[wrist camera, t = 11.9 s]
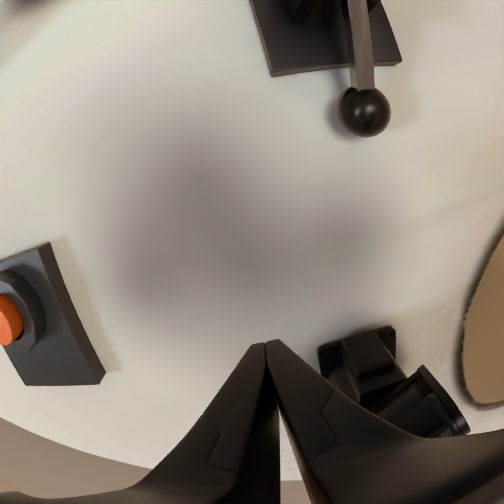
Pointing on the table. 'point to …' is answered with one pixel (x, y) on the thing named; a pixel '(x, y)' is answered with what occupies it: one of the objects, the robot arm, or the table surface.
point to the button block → (46, 324)
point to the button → (9, 321)
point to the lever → (361, 77)
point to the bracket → (317, 35)
